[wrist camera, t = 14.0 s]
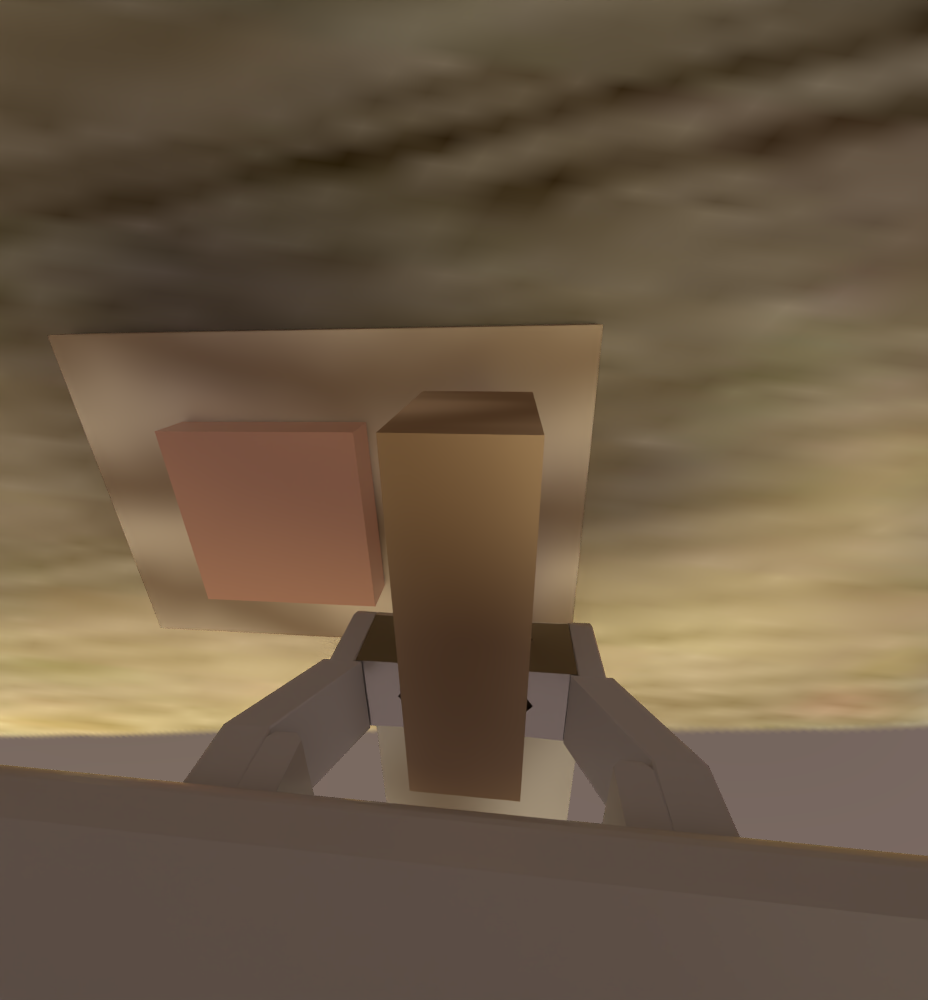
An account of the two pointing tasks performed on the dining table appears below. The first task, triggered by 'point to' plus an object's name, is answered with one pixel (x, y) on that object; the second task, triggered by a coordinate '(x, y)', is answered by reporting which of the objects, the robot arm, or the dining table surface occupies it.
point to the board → (320, 398)
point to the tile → (278, 509)
